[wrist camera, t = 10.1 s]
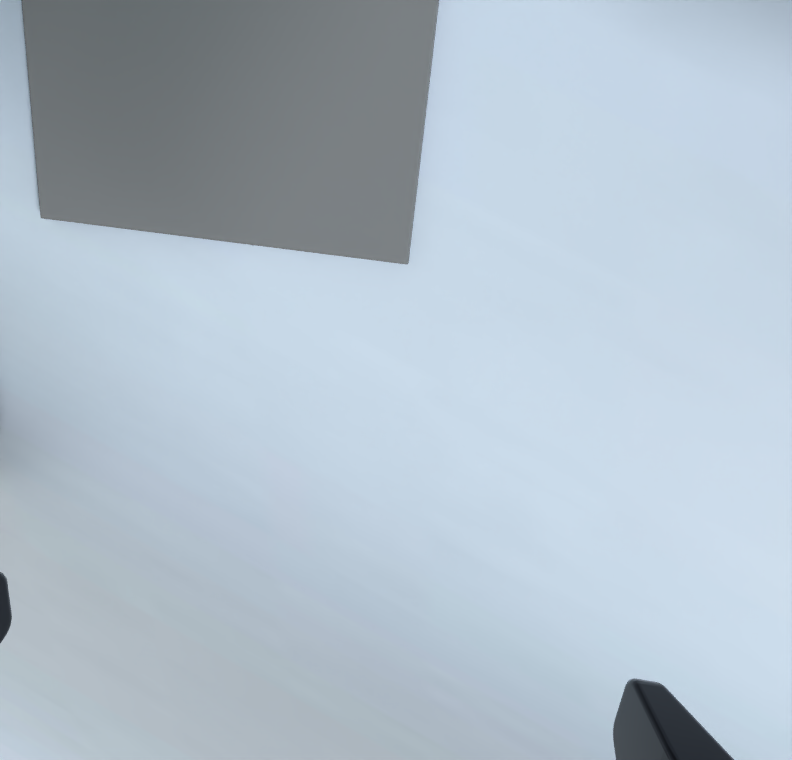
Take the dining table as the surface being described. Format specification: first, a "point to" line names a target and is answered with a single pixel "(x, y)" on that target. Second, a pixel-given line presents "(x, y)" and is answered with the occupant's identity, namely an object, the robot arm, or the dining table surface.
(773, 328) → the dining table surface
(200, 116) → the mat
